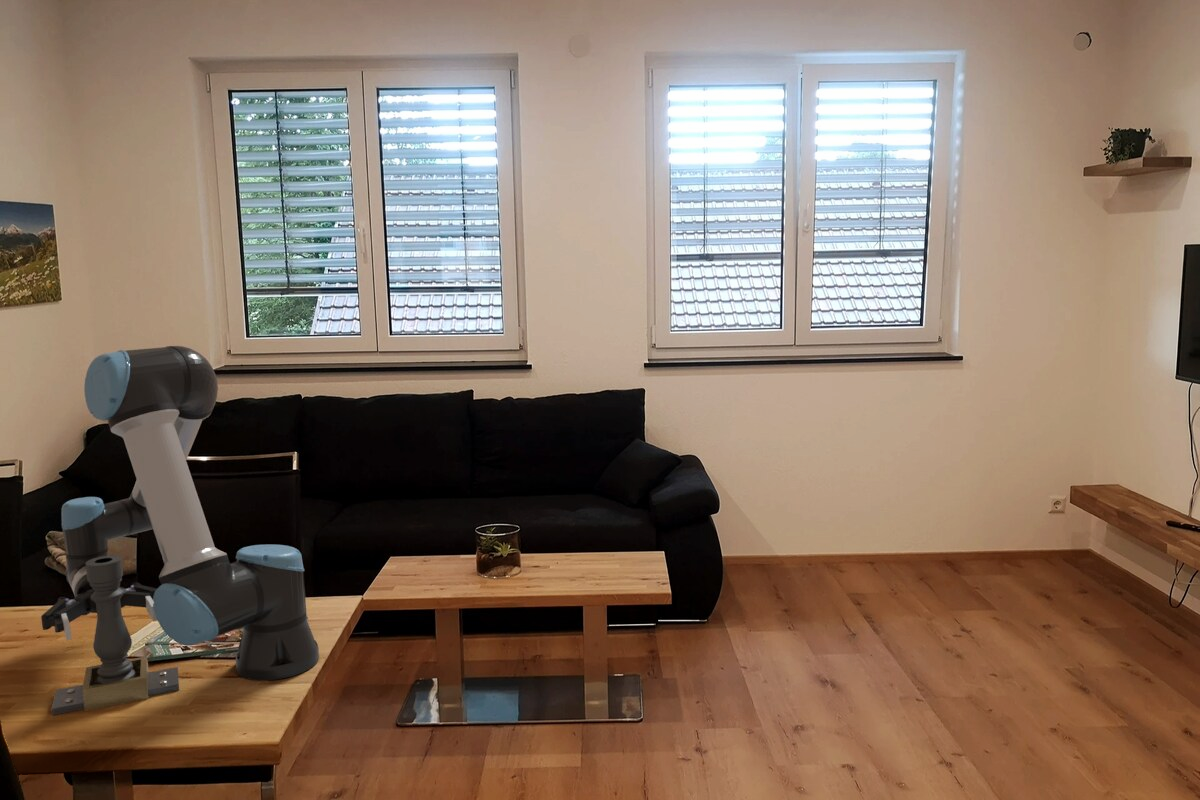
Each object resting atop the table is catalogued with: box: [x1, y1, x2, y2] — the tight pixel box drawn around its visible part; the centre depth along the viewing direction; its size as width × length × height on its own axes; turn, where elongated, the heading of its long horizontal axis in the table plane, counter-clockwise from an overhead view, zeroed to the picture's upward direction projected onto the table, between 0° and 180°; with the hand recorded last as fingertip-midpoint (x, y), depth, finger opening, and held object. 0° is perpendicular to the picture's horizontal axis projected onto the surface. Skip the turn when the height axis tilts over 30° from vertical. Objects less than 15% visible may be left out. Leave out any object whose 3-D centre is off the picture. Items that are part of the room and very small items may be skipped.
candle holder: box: [86, 554, 136, 685], centre depth 165 cm, size 6×6×25 cm
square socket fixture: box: [51, 655, 180, 716], centre depth 167 cm, size 20×10×4 cm, turn 115°
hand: (112, 622), depth 162 cm, fingers open, 13 cm apart
